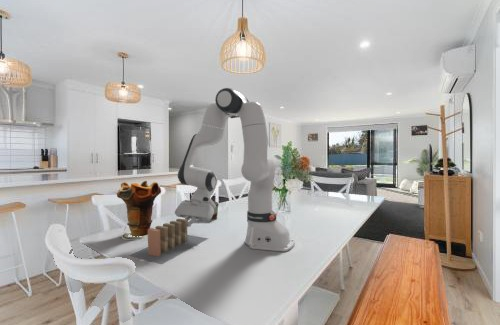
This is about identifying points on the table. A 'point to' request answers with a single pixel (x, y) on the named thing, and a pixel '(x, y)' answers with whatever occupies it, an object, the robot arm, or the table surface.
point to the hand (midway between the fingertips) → (186, 225)
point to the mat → (169, 251)
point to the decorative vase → (138, 207)
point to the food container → (215, 211)
